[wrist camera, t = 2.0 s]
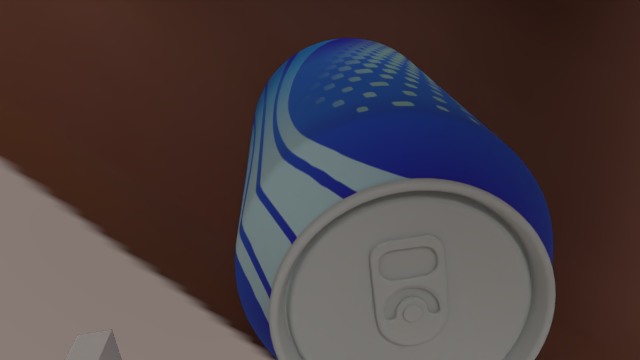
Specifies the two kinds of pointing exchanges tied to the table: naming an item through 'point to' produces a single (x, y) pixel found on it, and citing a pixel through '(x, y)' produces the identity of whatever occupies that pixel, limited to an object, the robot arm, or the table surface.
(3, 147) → the table surface
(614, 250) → the table surface
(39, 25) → the table surface
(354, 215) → the beer can
